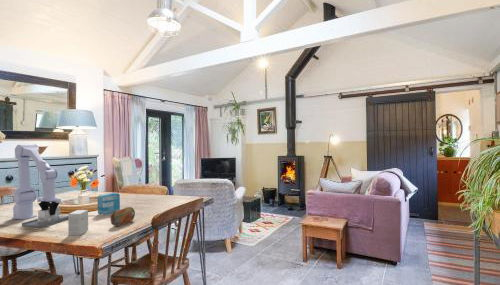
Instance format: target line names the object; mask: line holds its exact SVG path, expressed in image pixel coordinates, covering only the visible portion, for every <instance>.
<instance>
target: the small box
mask: <svg viewBox="0 0 500 285" xmlns="http://www.w3.org/2000/svg"><path fill="white" fill-rule="evenodd" d="M67 216H68V220H67V222H68V223H67V224H68V230H67V231H68V236H69V237H71V236H81V235H83V234H84V233H86V232H87V231H89V210H88V209H77V210H75V211H71V212H70V213H68V214H67Z"/></svg>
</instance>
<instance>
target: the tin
mask: <svg viewBox="0 0 500 285" xmlns="http://www.w3.org/2000/svg"><path fill="white" fill-rule="evenodd" d="M135 213H136V211H135V209H134V208H133V207H131V206H128V207H127V206H126V207H123V208H120V210H116V211H114V212H113V213H111V214H110V224H111V225H112V226H114V227H121V226H123V225H126V224H129V223H131V222H132V221H133V220H134V218H135V216H136V214H135Z"/></svg>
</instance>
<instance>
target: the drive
mask: <svg viewBox="0 0 500 285" xmlns="http://www.w3.org/2000/svg"><path fill="white" fill-rule="evenodd" d="M60 209H61V208H60V207H59V206H58V207H57V209H56V212H55V215H52V216H51V215H50V209H49V208H47V209H43V210H42V209H39V210H38V211H37V219H40V220H47V219H48V218H54V217H57V216H58V215H61V214H60V213H61V212H60V211H61V210H60Z"/></svg>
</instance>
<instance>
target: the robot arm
mask: <svg viewBox="0 0 500 285" xmlns="http://www.w3.org/2000/svg"><path fill="white" fill-rule="evenodd" d="M14 158H15V159H16V160H17V166H18V180H19V181H18V182H19V187H18V188H16V189H15V190H14V192H13V196H12V197H13V198H12V200H13V202H14V205H13V209H12V213H13V216H12V217H11V219H12V220H13V219H14V220H28V219H31V218H35V217H38V214H34V203H35V201H36V199H37V201H36V202H38V203H37V204H38V206H39V208H41V209H40V210H43V209H47V208H49V209H50V215H51V216H52V215H55V212H56V209H57V207H59V205H60V203H61V202H62V199H61V198H58V197H56V179H57V178H58V171H57V169H56V168H52V167H51V166H50V165H49V163H48V162H47V161H46V160H43V158H42V156H41V154H40V148H39V146H38V145H37V144H17V145H16V146H15V148H14ZM30 159H31V160H32V162H34V163H35V166H34V167H35V168H36V170H37V171H38V172H39V177H40V182H41V184H42V197H37V192H36V188H35V187H33V186H31V175H30V174H31V173H30Z"/></svg>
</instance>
